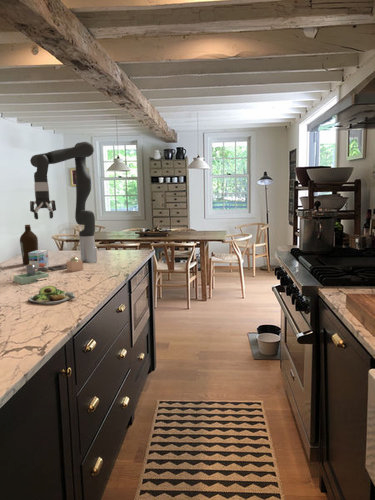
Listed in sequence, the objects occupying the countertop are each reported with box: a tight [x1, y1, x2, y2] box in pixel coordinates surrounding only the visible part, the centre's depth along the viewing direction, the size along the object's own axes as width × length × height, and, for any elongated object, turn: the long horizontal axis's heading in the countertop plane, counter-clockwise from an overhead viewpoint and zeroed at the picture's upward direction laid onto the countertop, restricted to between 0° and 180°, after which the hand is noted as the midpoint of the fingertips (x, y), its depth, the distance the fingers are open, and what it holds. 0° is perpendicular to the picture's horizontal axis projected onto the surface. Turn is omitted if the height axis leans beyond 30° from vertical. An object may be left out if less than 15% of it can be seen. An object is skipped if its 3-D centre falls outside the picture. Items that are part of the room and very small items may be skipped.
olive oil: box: [19, 224, 39, 266], centre depth 247 cm, size 11×11×25 cm
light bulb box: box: [28, 249, 50, 269], centre depth 230 cm, size 11×7×11 cm, turn 168°
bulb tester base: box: [35, 264, 67, 273], centre depth 220 cm, size 18×10×3 cm, turn 135°
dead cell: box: [70, 256, 79, 262], centre depth 218 cm, size 4×4×8 cm
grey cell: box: [25, 264, 36, 277], centre depth 201 cm, size 4×4×8 cm
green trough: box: [13, 271, 49, 285], centre depth 201 cm, size 14×10×3 cm
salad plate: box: [27, 285, 76, 305], centre depth 166 cm, size 19×18×5 cm
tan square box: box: [66, 259, 84, 272], centre depth 218 cm, size 6×6×7 cm
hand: (44, 218), depth 222 cm, fingers open, 8 cm apart
